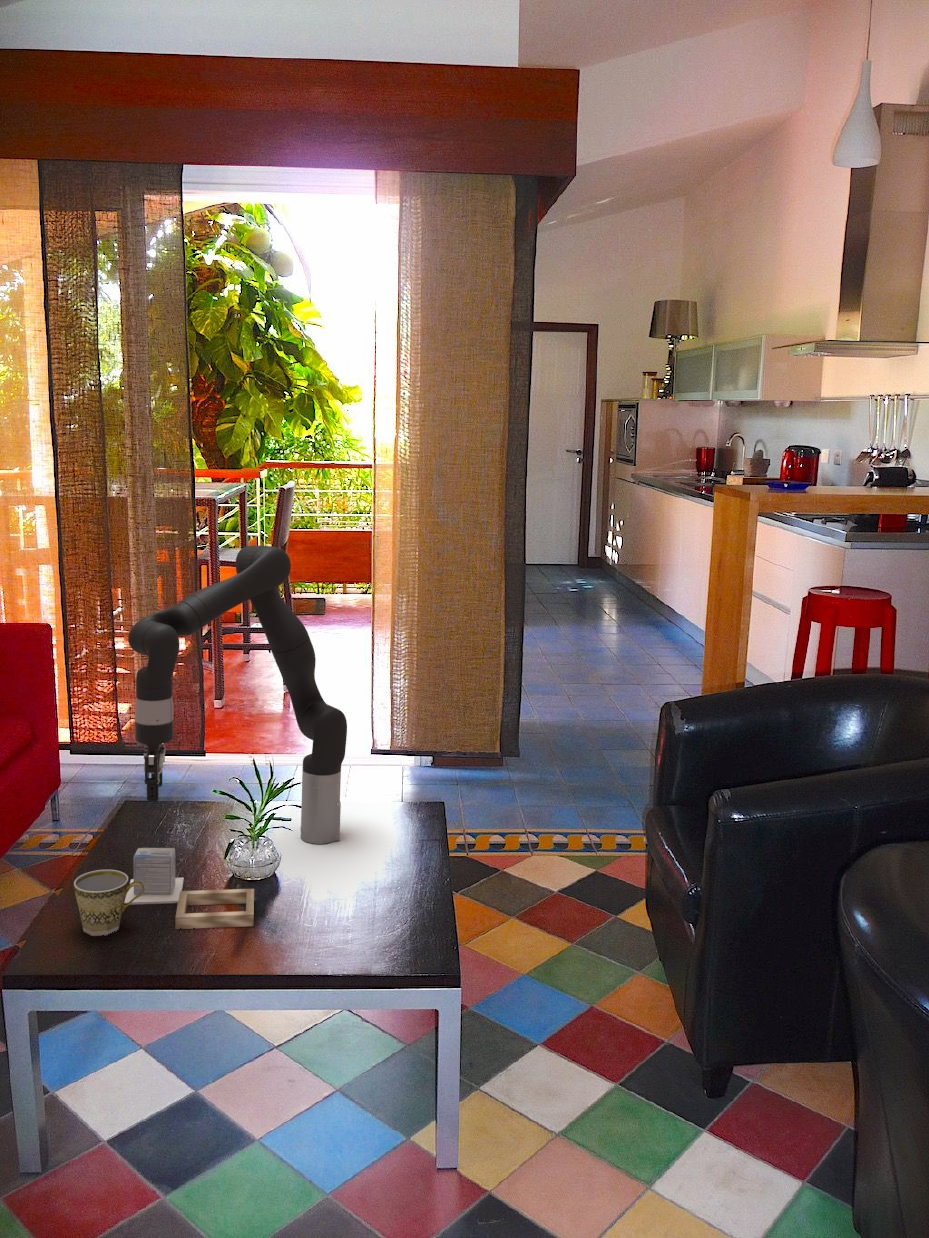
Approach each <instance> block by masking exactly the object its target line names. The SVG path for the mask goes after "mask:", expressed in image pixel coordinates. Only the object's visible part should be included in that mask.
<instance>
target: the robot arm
mask: <svg viewBox="0 0 929 1238" xmlns="http://www.w3.org/2000/svg"><path fill="white" fill-rule="evenodd" d="M291 569H292V563H291V559H290V557H289V554H288V552H286V551H284V550H283V549H282V548H280V547H277V546H273V545H253V544H252V545H247V546H244V547H242V548H241V549H240V550H239V552H237V555H236V558H235V571H236V574H235V575H234V576H231V577H229V578H226V579H224V580H221V581H219V582H216V583H213V584H210V585H207V586H205V587H202V588H201V589H199V590H196V591H195V592H193V593H192V594H189V595H188V596H186V597H185V598H183V599H182V600H180V601H179V602H177V603H176V604H174V605H173V606H171V607H168V608H165V609H162V610H160V611H157V612H154V613H151V614H149V615H147V616H145V617H143V618H141V619H140V620H139V621H136V622H135V623H134V624H133V625H132V627H131V629H130V630H129V633H128V637H127V642H128V645H129V647H130V648H131V649H132V650H133V651H134V652H135V653H137V654H139V655H140V654H141V655H144V656H146V657H147V656H148V661H147V664H146V666H145V667H144V666H143V667H142V668H140V669H139V670H138V671H137V673H136V678H135V694H136V695H135V697H136V698H135V706H134V728H135V729H134V733H135V735H134V736H135V737H134V738H135V741H136V742H137V743H138V744H140V745H144V746H145V748H144V751H143V759H144V765H143V771H144V780H143V782H144V785H146V800H147V802H150V803H151V802H158V800H159V798H160V797H159V794H160V793H159V791H160V790H159V788H161V787H162V786H163V768H164V765H165V762H166V761H165V760H166V756H165V755H166V746H165V744H168V743H170V742H172V741H173V740H174V733H175V731H174V730H175V729H174V701H173V674H174V671H175V668H176V664H177V660H178V657H179V653H180V652H179V651H180V639H179V637H185V636H191V635H194V634H195V633H197V632H199V631H200V630H201V629H202V628H204V627H205V626H207V625H209V624H211V622H213V621H215V620H216V619H217V618H219V617H221V616H222V615H224V614H226V613H227V612H230V610H233V609H234V608H235V607H237V606H240V605H241V604H243V603H245V602H247V601H248V600H249V601H250V603H251V605H252V607H253V608H254V610H255V613H256V616H257V618H258V620H259V622H260V625H261V626H260V627H261V628H262V630H263V632H264V634H265V637H266V641H267V643H268V645H269V647H270V648H269V649H270V651H271V653H272V656H273V659H274V662H275V663H276V665H277V668H278V670H279V672H280V674H281V677H282V681H283V683H284V686H285V688H286V689H287V691H288V694H289V698H290V701H291V705H292V709H293V713H294V715H295V716H294V717H295V720H296V722H297V726H298V730H299V731H300V732H301V733H302V735H303V736H304V737H306V738H308V739H310V741H311V740H312V747H311V748H312V749H311V750H312V751H311V753H310V754H307V755H305V756H304V757H303V759H302V773H301V777H302V778H301V805H300V806H301V811H300V814H301V815H300V839H301V840H302V841H304V842H306V843H309V844H316V845H317V844H318V845H320V844H321V845H323V844H329V843H330V844H331V843H334V842H339V841H340V836H341V835H340V833H341V813H342V812H341V808H342V805H341V804H342V803H341V784H342V783H341V780H342V764H343V762H344V759H345V756H346V748H347V737H348V723H347V717H346V716H345V714H344V712H342V710H340V709H339V708H336V707H335V706H332V705H330V704H328V703H326V702H325V700H324V698H323V696H322V694H321V692H320V690H319V688H318V686H317V685H318V684H317V682H316V677H315V670H316V662H317V661H316V660H317V659H316V654H315V653H316V652H315V648H314V645H313V643H312V640H311V638H310V635H309V632H308V630H307V628H306V627H305V625H304V624H303V622H302V621H301V619H300V618H299V617H298V616H297V615H296V614H295V612H293V610H292V609H291V608H290V607H289V606H288V605H287V603H286V602H285V600H284V599H282V597H281V595H280V593H279V591H278V587H279V586H280V585H282V584H284V583H285V582H286V581H287V579H288V578H289V577H290V573H291Z"/></svg>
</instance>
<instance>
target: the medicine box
mask: <svg viewBox="0 0 929 1238" xmlns="http://www.w3.org/2000/svg"><path fill="white" fill-rule="evenodd" d="M175 878H176V848H174V847H138V848H137V849H136V852H135V853H134V855H133V879H134V882H141V883H142V884H143V885H144V892H143V894H172V893H173V890H174V887H175ZM141 892H142V887H141V886H139V885H137V886H134V894H140V893H141Z"/></svg>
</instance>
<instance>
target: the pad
mask: <svg viewBox="0 0 929 1238" xmlns="http://www.w3.org/2000/svg"><path fill="white" fill-rule="evenodd" d="M129 881H130V882H129V884H130V883H132V882H134V878H131V879H130V880H129ZM184 881H185V878H184V876H183V877H175V887H174V890H173V893H172V894H142V895H141V896H140V897H138V898H137V899H135V900H134V901H133V902H132V903H131V904H130V905H132V906H133V905H157V904H158V905H159V904H160V905H161V904H162V905H163V904H178V900H179V894H180V891H183V886H184ZM137 895H139V894H134V886H133V887H132V888H130V889H129V891H128V892H127V894H126V895H125V900H124V903H125V904H127V903H129V902H130V901H131V900H132V899H133V898H134V897H136V896H137ZM130 905H129V906H130Z"/></svg>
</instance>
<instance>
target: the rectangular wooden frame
mask: <svg viewBox="0 0 929 1238" xmlns="http://www.w3.org/2000/svg"><path fill="white" fill-rule="evenodd" d="M254 903H255V888H236V889H235V888H232V889H205V890H203V889H202V890H201V889H200V890H182V891H180V894H179V900H178V903H177V908H176V913H175V917H174V918H175V929H174V930H189V929H190V930H191V929H192V930H193V928H195V929H214V928H215V929H216V928H240V927H241V928H242V927H254V917H255V915H254V914H255V913H254V911H255V909H254V908H255V907H254V906H255V904H254ZM234 904H237V905H239V904H246V905H245V911H244V910H243V911H242V910H241V911H219V912H192V913H191V912H190V913H189V912H188V913H187V908H188V906H207V905H213V906H214V905H234ZM180 928H181V929H180Z"/></svg>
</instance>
